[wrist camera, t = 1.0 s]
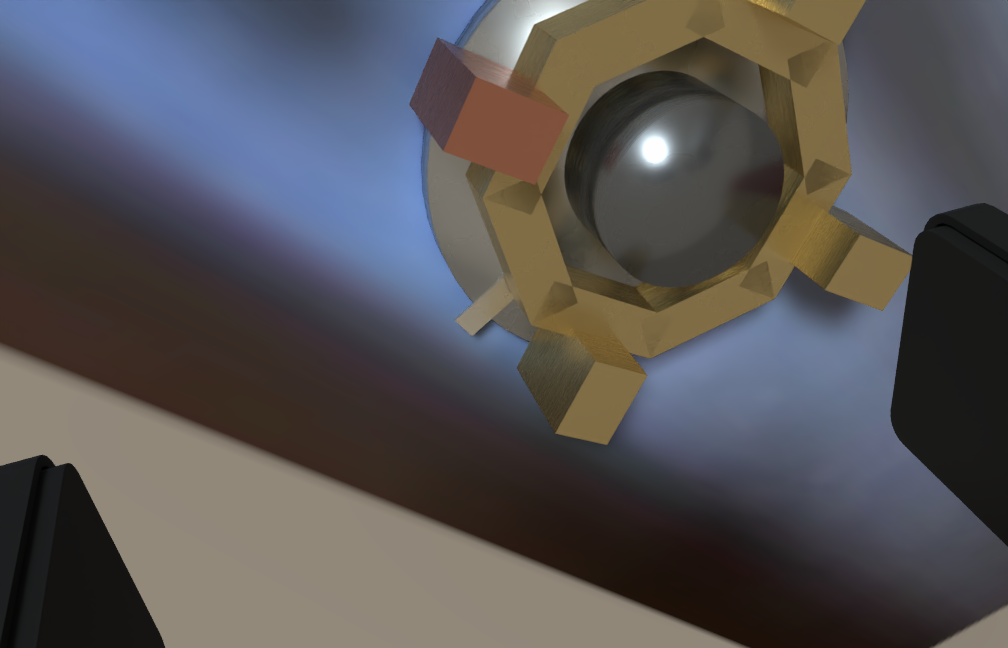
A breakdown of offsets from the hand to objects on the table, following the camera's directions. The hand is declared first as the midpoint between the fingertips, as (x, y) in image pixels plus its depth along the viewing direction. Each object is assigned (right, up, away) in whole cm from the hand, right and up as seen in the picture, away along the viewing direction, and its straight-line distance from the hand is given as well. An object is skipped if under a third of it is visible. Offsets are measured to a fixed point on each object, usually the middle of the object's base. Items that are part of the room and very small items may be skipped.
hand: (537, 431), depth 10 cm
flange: (+4, +7, +24) cm, 25 cm away
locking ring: (+5, +7, +23) cm, 24 cm away
